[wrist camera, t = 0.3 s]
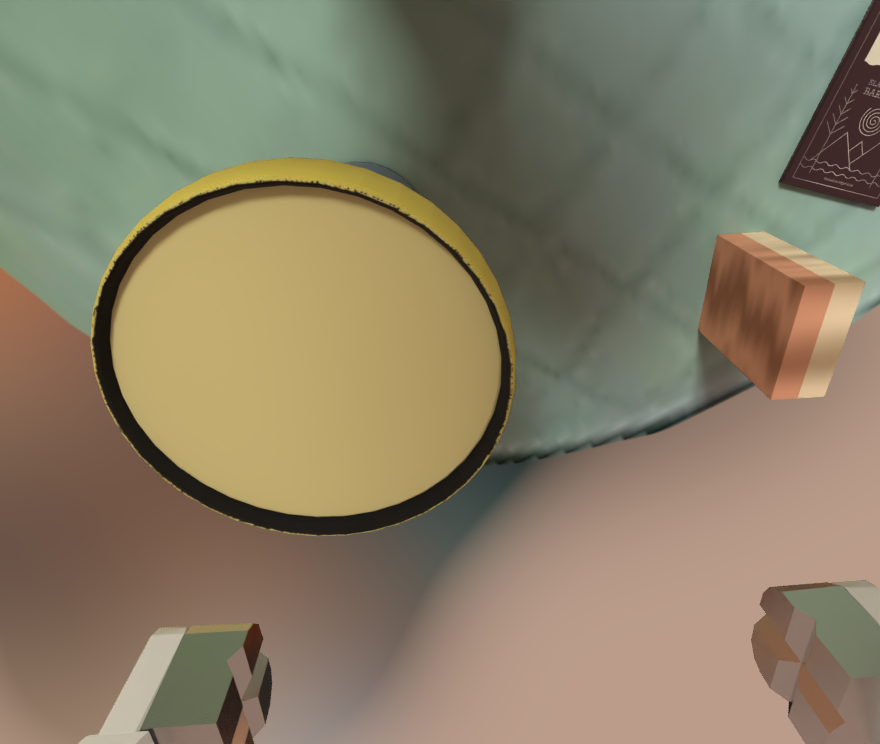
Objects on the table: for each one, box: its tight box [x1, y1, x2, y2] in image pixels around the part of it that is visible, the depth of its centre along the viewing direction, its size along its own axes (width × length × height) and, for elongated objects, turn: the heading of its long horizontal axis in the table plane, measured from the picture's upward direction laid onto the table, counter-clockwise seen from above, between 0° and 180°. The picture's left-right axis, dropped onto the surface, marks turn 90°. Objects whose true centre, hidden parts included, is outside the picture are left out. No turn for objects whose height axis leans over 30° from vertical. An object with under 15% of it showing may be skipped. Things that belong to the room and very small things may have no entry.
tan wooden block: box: [698, 232, 866, 400], centre depth 43 cm, size 9×4×12 cm, turn 3°
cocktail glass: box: [91, 157, 516, 536], centre depth 34 cm, size 18×18×25 cm
